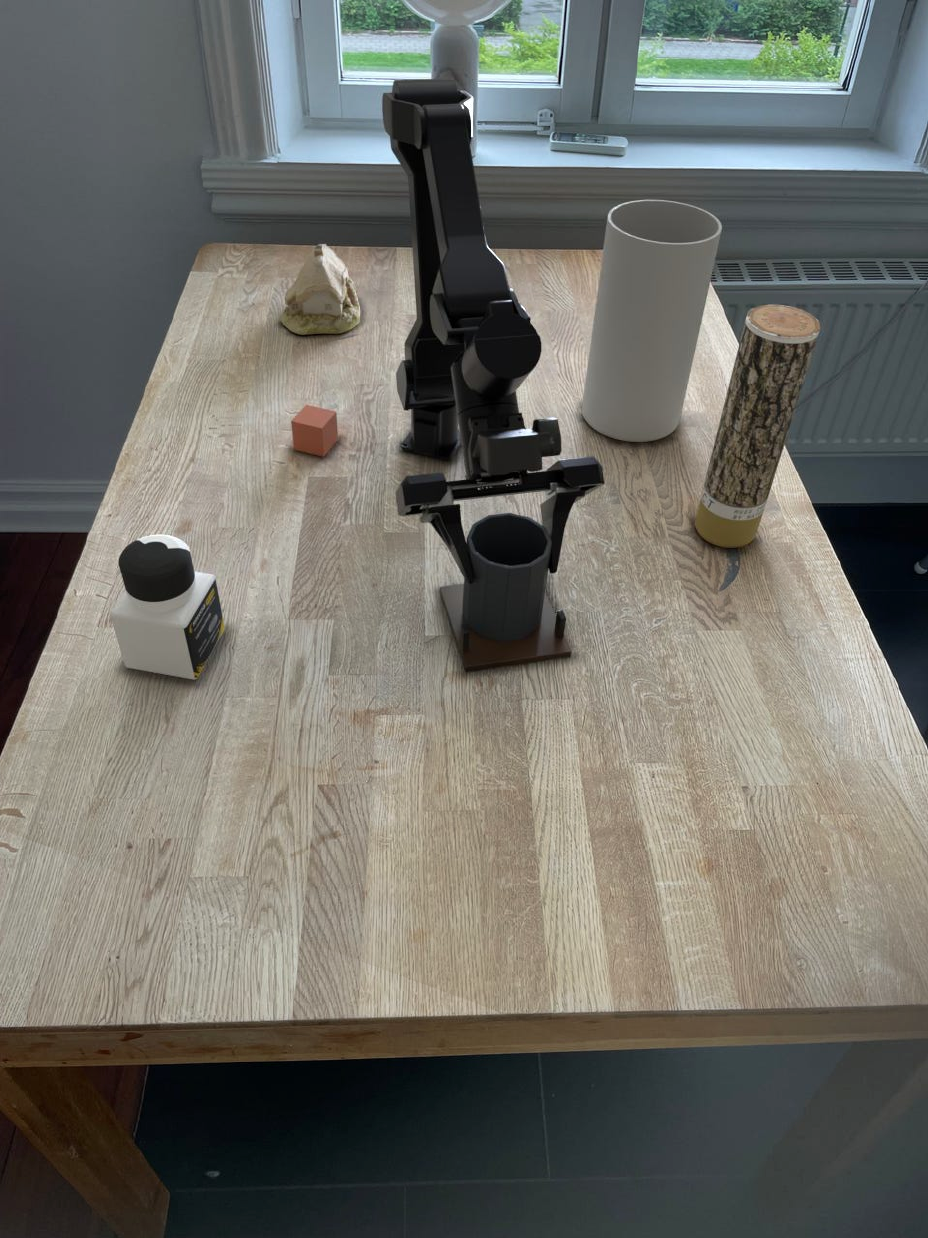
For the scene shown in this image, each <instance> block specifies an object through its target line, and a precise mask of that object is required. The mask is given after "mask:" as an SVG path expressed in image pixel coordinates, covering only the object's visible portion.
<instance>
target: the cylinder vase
mask: <svg viewBox="0 0 928 1238" xmlns="http://www.w3.org/2000/svg"><path fill="white" fill-rule="evenodd" d="M722 230H723V225H722V222H721V221H720V219H718V218H717V217H716V216H715V215H714V214H712V213H711V212H709V211H707V210H705V209H703V208H700V207H697V206H695V205H691V204H689V203H684V202H680V201H674V200H673V201H672V200H664V199H639V200H632V201H627V202H623V203H620V204H618V205H616V206H614V207H613V208H610V210H609V212H608V213H607V218H606V226H605V232H604V233H605V234H604V239H603V240H604V241H603V248H602V256H601V262H600V271H599V278H598V283H597V284H598V286H597V293H596V300H595V307H594V314H593V316H594V317H593V320H592V321H593V322H592V330H591V336H590V344H589V352H588V358H587V366H586V373H585V380H584V388H583V395H582V404H581V414H582V416H583V418H584V420H585V422H586V423H587V424H588V425H589V427H590V428H593V430H595V431H596V432H598V433H599V434H601V435H603V436H605V437H608V438H611V439H614V440H618V441H624V442H631V443H647V442H653V441H658V440H661V439H663V438H665V437H668V436H669V435H670V434H672V433H673V432H674V431H675V430H676V429H677V428H678V426H679V425H680V421H681V417H682V413H683V408H684V404H685V399H686V395H687V390H688V385H689V381H690V376H691V372H692V367H693V363H694V357H695V353H696V348H697V344H698V339H699V335H700V332H701V331H700V330H701V325H702V321H703V316H704V313H705V307H706V304H707V298H708V294H709V289H710V284H711V280H712V276H713V271H714V266H715V261H716V258H717V257H716V256H717V253H718V248H719V247H718V246H719V243H720V239H721V235H722Z"/></svg>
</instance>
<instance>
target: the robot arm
mask: <svg viewBox="0 0 928 1238" xmlns="http://www.w3.org/2000/svg"><path fill="white" fill-rule="evenodd" d="M391 87H392V88H391V92H383V93H382V97H381V98H382V99H381V111H382V122H383V127H384V131H385V132H386V133H387V136H389V143H390V150H391V152H392V154H393V156H395V158H396V159H397V161H398V163H399V165H400V166H401V168H402V169H403V171H404V172H405V174H406V176H407V184H408V185H407V187H408V199H409V216H410V232H411V247H412V250H411V251H412V263H413V278H414V279H413V280H414V294H415V295H414V297H415V310H416V311H415V313H416V319H415V321H414V323H413V324H412V327H411V329H410V331H409V333H408V335H407V337H406V338H405V341H404V359H402V360H401V361H400V363H399V366H398V367H397V371H396V372H395V378H396V380H395V381H396V390H397V391H396V392H397V394H398V397H399V400H400V403H401V405H402V409H403V411H409V410H410V432H409V433H408V434H407V436H406V437H405V438H404V440H403V441H402V443H401V444H400V450H402V451H406V452H410V453H413V454H418V455H422V456H426V457H431V458H434V459H439V460H444V461H451V460H453V458H454V456H455V455H456V453H457V452H458V450H459V449H460V447H461V450H462V456H463V464H464V469H465V470H464V471H465V475H464V476H465V477H464V479H458V480H449V481H447V478H446V476H445V474H444V472H443V471H441V472H432V473H431V472H430V473H421V474H411V475H405V477H404V478H403V480H401V482H400V484H399V485H398V487H397V489H396V491H395V502H396V510H397V516H398V517H410V516H419V515H420V516H419V523H420V524H427V523H428V524H430V525H431V526H432V527H433V530H434V531H435V532H436V533H437V534H438V536H439V537H440V539H441V541H442V542H443V543H444V544H445V546H446V547H447V550H448V551H449V552H450V555H451V556H452V558H453V560H454V562H455V564H456V565H457V568H458V570H459V571H460V573H461V575H462V577H463V579H464V578H465V580H466V582H467V584H472V583H473V572H472V565H471V561H470V556H469V552H468V548H467V544H466V542H467V539H466V537H465V532H464V527H463V523H462V512H461V503H455V504H454V502H459V501H466V500H467V501H469V500H477V499H487V498H494V497H495V498H496V497H505V496H513V495H522V494H530V493H539V492H544V496H545V501H543V502H542V503H540V504H539V507H540V517H541V525H542V526H543V527H545V528H546V530H547V532H548V534H549V536H550V538H551V541H552V548H551V555H550V562H549V569H548V572H549V573H550V574H552V575H553V574H556V573H557V572H558V568H559V561H560V556H561V551H562V547H563V546H562V545H563V540H564V534H565V529H566V525H567V522H568V520H569V516H570V512H571V510H572V508H573V506H574V504H575V503H577V502H578V501H581V500H582V499H583V498H585V497H586V496H587V495H589V494H591V493H593V492H594V491H596V490H597V489H599V488H600V487H603V486H604V485H605V484H606V483H605V476H604V475H605V474H604V469H603V466H602V464H601V462H600V460H598V459H597V458H596V457H595V456H594V455H591V456H583V457H573V458H564V459H557V461H556V462H554V463H553V464H552V465H551V466H549V467H548V468H547V469H546V470H545V471H544V470H543V458H549V457H556V456H557V457H558V456H560V455H561V454H562V435H561V430H560V423H559V418H556V417H545V418H544V417H543V418H535V419H533V421H532V428H526V426H525V419H524V416H523V412H520V409H519V403H518V397H517V390H518V389H519V388H520V387H521V385H522V384H523V383H524V382H525V380H526V379H527V377H529V375H530V374H531V373H532V372H533V370H534V369H535V368H536V367H537V365H538V363H539V361H540V359H541V354H542V339H541V336H540V335H539V334H538V331H537V330H536V328H535V327H534V325H533V324H532V323H531V319H532V318H531V316H530V315H529V314H528V312H527V311H526V309H525V308H524V306H523V305H522V303H521V302H520V301H519V299H518V297H517V295H516V293H515V291H514V289H513V288H510V284H509V280H508V276H507V271H506V268H505V264H504V262H503V261H502V260H501V259H500V258H499V257H498V255H496V254H495V253H494V252H493V250H492V249H490V248H489V245H488V241H487V238H486V232H485V231H486V230H485V226H484V219H483V213H482V208H481V207H482V206H481V200H480V195H479V191H478V184H477V177H476V172H475V166H474V160H473V155H472V154H473V153H472V149H471V145H472V144H471V143H472V138H473V127H474V126H473V124H474V123H473V121H474V117H473V116H474V96H472V95H471V94H470V93H469V92H467V91H466V90H460V89H458V87H457V83H456V81H455V79H454V78H451V77H450V78H449V77H448V78H420V79H419V78H414V79H413V78H411V79H394V80H393V82H392V86H391Z"/></svg>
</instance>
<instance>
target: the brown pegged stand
mask: <svg viewBox="0 0 928 1238" xmlns="http://www.w3.org/2000/svg"><path fill="white" fill-rule="evenodd" d="M463 591H464V583H458V584H453V585H452V584H451V585H442V586H439V592H438V593H439V596H440V598H441V602H442V605H443V608H444V611H445V614H446V617H447V620H448V623H449V627H450V629H451V633H452V636H453V639H454V643H455V646H456V649H457V652H458V655H459V658H460V662H461V664H462V667H463V671H464V673H471V672H478V671H485V670H492V669H498V668H505V667H511V666H519V665H525V664H532V663H539V662H546V661H547V662H548V661H552V660H559V659H566V658H571V656H572V649H571V646H570V645H569V642H568V639H567V638H566V635H565V629H566V624H567V622H566V621H567V616H566V615H565V613H564V610H563V609H561V610H557V611H556V613H555V610H554V608H553V606H552V604H551V601H550V599H549V596H548V595H547V592H546V591H545V596H544V603H543V610H542V616H541V619H540V622H539V625H538V627H537V629H536V630H535V631H533V632H532V633H530V634H529V635H527V636H526V637H524V638H523V639H518V640H511V641H504V642H500V641H496V640H492V639H488V638H484V637H482V636H480V635H479V634H477V633H476V632H475V631H474V630H472V629H471V628H470V627H469V626H468V625H467V623H466V621H465V618H464V615H463V611H462V608H463Z"/></svg>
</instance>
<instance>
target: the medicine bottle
mask: <svg viewBox="0 0 928 1238" xmlns="http://www.w3.org/2000/svg"><path fill="white" fill-rule="evenodd" d="M118 568H119V571H120V575H121V578H122V582H123V586H124V589H125V590H124V591H122V594H121V595H120V597H119V598H118V600H117V601H116V602H115V604H114V605H113V606H112V608H111V610H110V611H109V616H110V620H111V623H112V626H113V630H114V634H115V637H116V640H117V643H118V647H119V650H120V653H121V656H122V661H123V663H124V666H125V667H126V668H127V669H131V670H139V671H142V672H148V673H155V674H161V675H165V676H171V677H176V678H181V679H187V680H197V679H198V678H200V675H201V673H202V672H203V670H204V668H205V666H206V664H207V663H208V661H209V659H210V657H211V655H212V654H213V651H214V650H215V648H216V646H217V645H218V643H219V641H220V640H221V637H222V635H223V633H224V632H225V628H226V626H225V621H224V617H223V611H222V605H221V601H220V595H219V590H218V589H219V588H218V584H217V579H216V575H214V574H211V573H205V572H201V571H200V572H199V571H195V567H194V564H193V559H192V554H191V549H190V547H189V545H188V544H187V543H186V542H185V541H183V540H182V539H180V538H178V537H176V536H173V535H169V534H151V535H146V536H142V537H139V538H137V539H135V540H133V541H132V542H130V543H128V545H126V546H125V548H124V549H123V550H122V551H121V552H120V555H119V557H118Z"/></svg>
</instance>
